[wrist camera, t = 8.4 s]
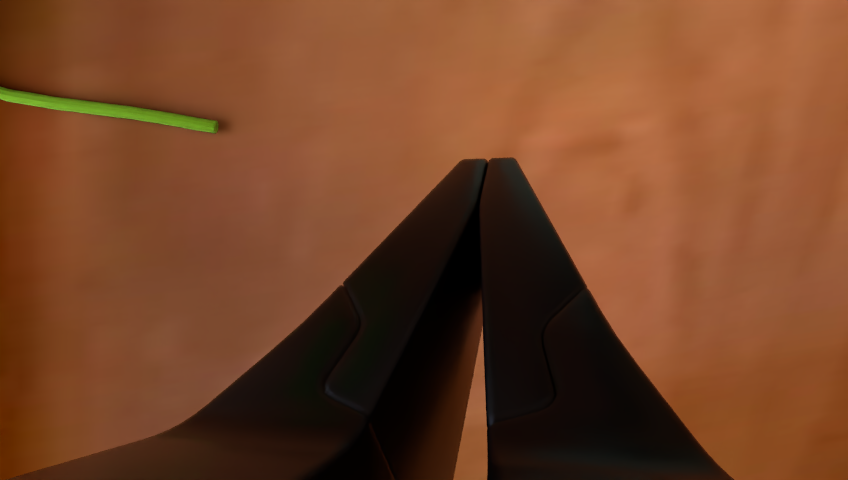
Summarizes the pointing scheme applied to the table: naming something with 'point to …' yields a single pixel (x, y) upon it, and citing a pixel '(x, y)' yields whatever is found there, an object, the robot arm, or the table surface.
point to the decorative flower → (108, 110)
